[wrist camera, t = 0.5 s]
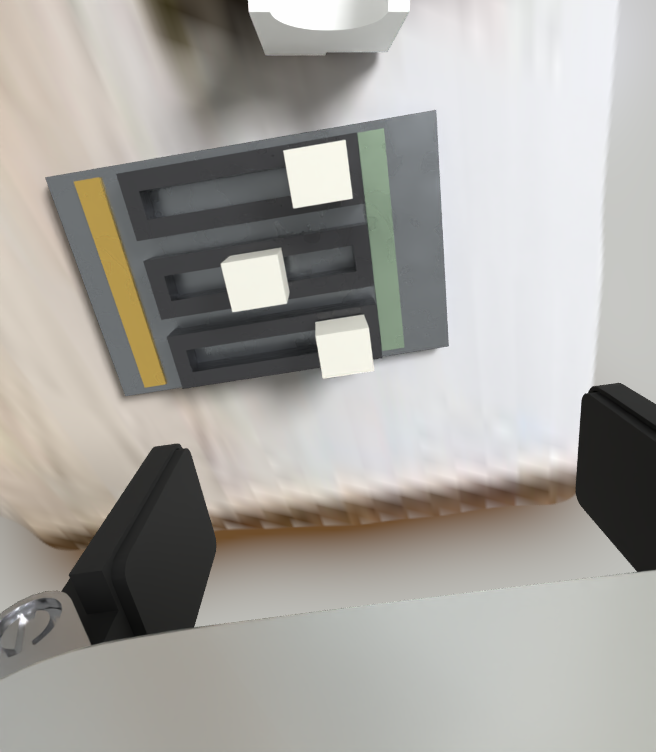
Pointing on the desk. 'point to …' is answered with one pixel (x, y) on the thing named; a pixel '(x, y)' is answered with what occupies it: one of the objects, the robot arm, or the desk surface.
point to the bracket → (327, 25)
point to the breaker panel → (256, 233)
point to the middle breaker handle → (256, 279)
